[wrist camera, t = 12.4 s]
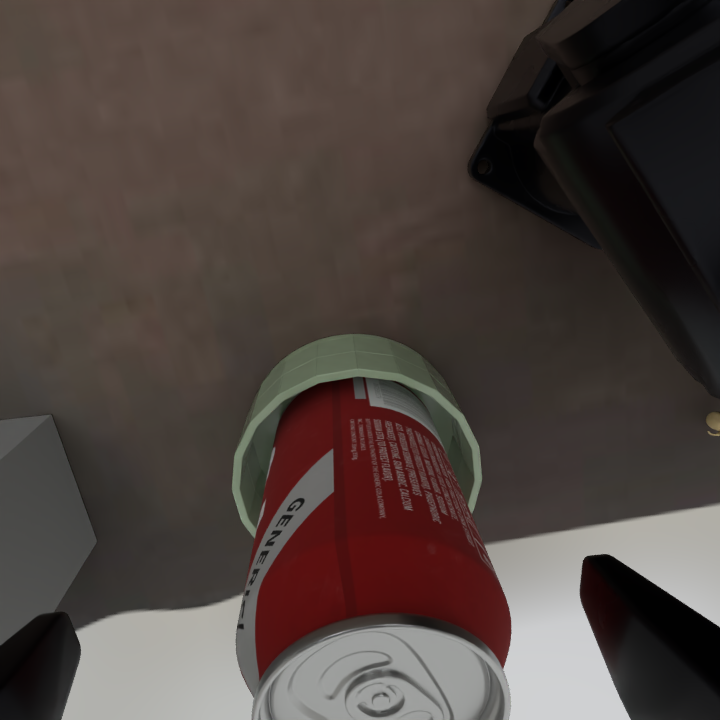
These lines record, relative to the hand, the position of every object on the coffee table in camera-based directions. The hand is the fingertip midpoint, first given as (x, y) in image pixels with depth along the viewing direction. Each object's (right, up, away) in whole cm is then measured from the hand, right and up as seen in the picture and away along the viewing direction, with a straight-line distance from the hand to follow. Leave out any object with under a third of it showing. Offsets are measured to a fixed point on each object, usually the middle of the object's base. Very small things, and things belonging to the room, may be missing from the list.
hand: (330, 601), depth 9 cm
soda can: (0, +1, +13) cm, 13 cm away
